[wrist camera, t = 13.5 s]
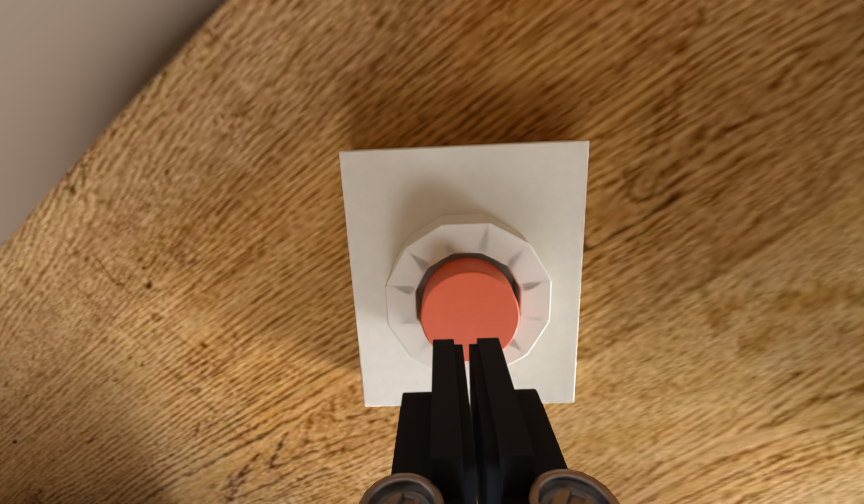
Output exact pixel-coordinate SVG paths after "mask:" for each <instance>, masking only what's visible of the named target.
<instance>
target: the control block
mask: <svg viewBox="0 0 864 504" xmlns="http://www.w3.org/2000/svg"><path fill="white" fill-rule="evenodd" d="M588 156H589V141H588V140H564V141H542V142H519V143H496V144H474V145H451V146H429V147H406V148H384V149H361V150H347V151H340V152H339V160H340V170H341V180H342V189H343V199H344V209H345V218H346V228H347V238H348V248H349V257H350V267H351V277H352V287H353V296H354V306H355V316H356V325H357V335H358V345H359V355H360V364H361V374H362V384H363V394H364V403H365V406H401V400H402V394H403V392H432V355H433V346H432V345H431V343H430V342H429V341H428V339H427V338H426V336H425V334H424V331H423V328H422V325H421V307H422V300H423V293H424V289H425V286H426V284H427V281H428V280H429V278H430V277H431V275H432V274H433V273H434V272H435V271H436V270H437V269H438V268H439V267H441V266H442V265H444V264H445V263H447V262H449V261H452V260H455V259H460V258H477V259H481V260H485V261H487V262H489V263H491V264H493V265H494V266H496V267H497V268H498V269H499V270H500V271H501V272H502V273H503V274H504V275H505V277H506V278H507V280H508V282H509V284H510V286H511V288H512V290H513V292H514V295H515V297H516V299H517V302H518V306H519V312H520V319H519V325H518V329H517V331H516V334H515V335H514V337H513V339H512V340H511V342H510V343H509V344H508V345H507V346H506V347H505V348H504V349H503V353H504V356H505V360H506V363H507V366H508V370H509V373H510V376H511V379H512V383H513V386H514V389H536V390H537V392H538V394H539V396H540V399H541V402H542V403H573V402H574V391H575V374H576V357H577V341H578V324H579V307H580V290H581V274H582V257H583V240H584V223H585V207H586V190H587V173H588ZM465 369H466V378H467V386H468V394H469V403H470V378H469V361H465Z"/></svg>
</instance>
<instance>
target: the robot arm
mask: <svg viewBox="0 0 864 504" xmlns="http://www.w3.org/2000/svg"><path fill="white" fill-rule="evenodd" d="M469 378H470V403H469V394H468V386H467V378H466V369H465V361H464V353H463V344H454V339H433V355H432V392H403V394H402V400H401V407H400V414H399V421H398V429H397V436H396V443H395V450H394V458H393V465H392V472H391V475H390V476H386V477H384V478H382V479H381V480H379V481H377V482H375V483H374V484H373V485H372V486H371V487H370V488H369V489H368V490H367V491H366V492H365V494H364V495H363V497H362V499H361V501H360V502H359V504H477V502H478V504H620V503H619V502H618V500H617V499H616V497H615V496H614V495H613V494H612V493H611V492H610V490H609V489H608V488H607V487H606V486H605V485H603V484H602V483H601V482H599V481H598V480H596V479H595V478H593V477H591V476H589V475H587V474H585V473H582V472H579V471H574V470H570V469H568V468H567V465H566V463H565V460H564V458H563V455H562V453H561V450H560V447H559V445H558V442H557V440H556V437H555V435H554V432H553V430H552V427H551V425H550V422H549V419H548V417H547V414H546V412H545V409H544V407H543V404H542V402H541V399H540V396H539V394H538V392H537V390H536V389H514V386H513V383H512V379H511V376H510V373H509V370H508V366H507V363H506V360H505V356H504V353H503V350H502V347H501V343H500V340H499V337H494V338H477V344H469Z"/></svg>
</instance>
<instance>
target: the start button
mask: <svg viewBox="0 0 864 504" xmlns="http://www.w3.org/2000/svg"><path fill="white" fill-rule="evenodd" d="M519 319H520V312H519V306H518V302H517V299H516V297H515V295H514V292H513V290H512V288H511V286H510V284H509V282H508V280H507V278H506V277H505V275H504V274H503V273H502V272H501V271H500V270H499V269H498V268H497V267H496V266H494V265H493V264H491V263H489V262H487V261H485V260H481V259H477V258H460V259H455V260H452V261H449V262H447V263H445V264H444V265H442V266H441V267H439V268H438V269H437V270H436V271H435V272H434V273H433V274H432V275H431V277H430V278H429V280H428V281H427V284H426V286H425V289H424V293H423V300H422V307H421V325H422V328H423V331H424V334H425V336H426V338H427V339H428V341H429V342H430V343H431V345H432V346H433V339H454V344H463V353H464V361H469V344H477V338H494V337H499V340H500V343H501V347H502V350H503V349H504V348H505V347H506V346H507V345H508V344H509V343H510V342H511V340H512V339H513V337H514V335H515V334H516V331H517V329H518V325H519Z"/></svg>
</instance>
